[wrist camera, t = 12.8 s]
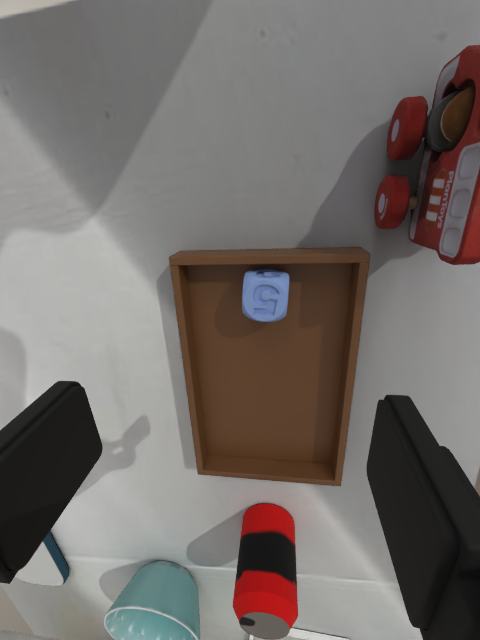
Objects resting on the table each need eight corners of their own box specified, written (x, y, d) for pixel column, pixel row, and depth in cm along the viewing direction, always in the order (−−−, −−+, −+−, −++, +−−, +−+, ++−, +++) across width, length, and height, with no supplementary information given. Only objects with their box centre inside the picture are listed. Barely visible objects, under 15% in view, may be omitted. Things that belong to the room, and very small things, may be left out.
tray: (179, 250, 30) (168, 257, 27) (360, 246, 28) (370, 253, 25) (203, 453, 41) (197, 474, 38) (336, 463, 38) (341, 486, 35)
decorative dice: (246, 305, 31) (241, 320, 27) (247, 267, 29) (242, 277, 25) (285, 308, 30) (285, 323, 27) (288, 269, 29) (289, 280, 25)
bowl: (138, 595, 58) (117, 655, 50) (117, 544, 52) (90, 603, 44) (217, 603, 55) (207, 668, 48) (204, 551, 49) (190, 615, 42)
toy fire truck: (494, 72, 22) (657, -22, 12) (447, 244, 27) (538, 271, 17) (395, 76, 23) (477, -10, 13) (366, 242, 28) (412, 267, 18)
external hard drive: (76, 575, 58) (69, 588, 56) (24, 570, 60) (16, 582, 58) (32, 491, 49) (22, 502, 47) (-27, 487, 51) (-39, 498, 49)
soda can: (246, 497, 43) (235, 600, 32) (299, 508, 42) (305, 617, 31) (240, 529, 46) (227, 634, 35) (288, 540, 45) (291, 649, 35)
